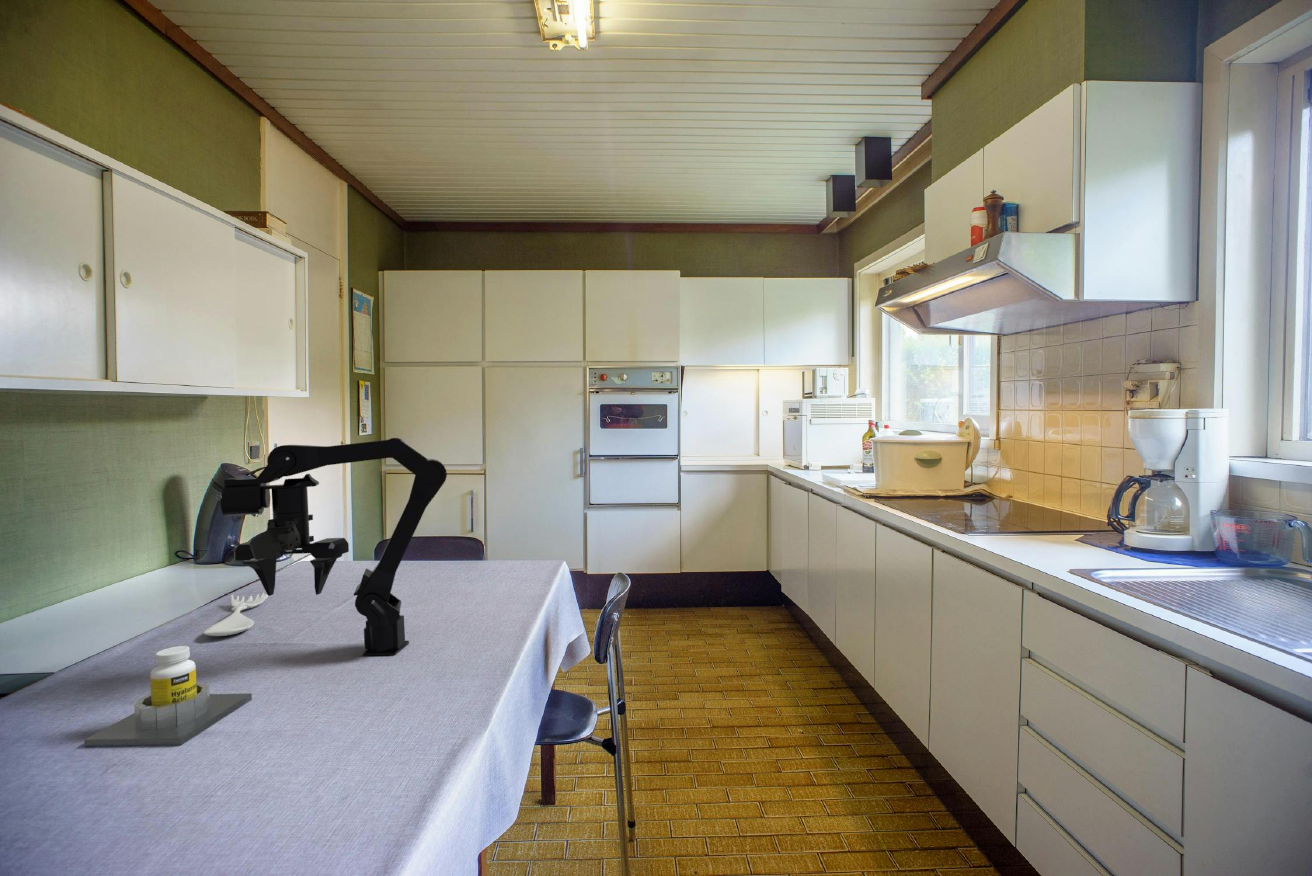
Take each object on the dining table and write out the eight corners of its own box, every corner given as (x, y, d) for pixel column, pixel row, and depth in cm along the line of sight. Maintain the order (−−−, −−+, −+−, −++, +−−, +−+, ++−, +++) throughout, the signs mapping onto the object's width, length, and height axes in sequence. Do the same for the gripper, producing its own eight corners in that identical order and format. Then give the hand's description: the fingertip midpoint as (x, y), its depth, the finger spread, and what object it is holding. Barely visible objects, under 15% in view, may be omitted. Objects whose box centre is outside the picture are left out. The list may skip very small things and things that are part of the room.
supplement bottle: (173, 724, 89) (169, 658, 88) (142, 722, 90) (139, 656, 89) (206, 706, 94) (203, 644, 94) (177, 705, 95) (174, 643, 95)
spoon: (272, 601, 158) (271, 588, 158) (249, 638, 129) (248, 622, 129) (231, 606, 154) (230, 593, 154) (197, 646, 125) (197, 630, 125)
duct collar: (251, 699, 98) (250, 675, 98) (180, 745, 84) (179, 717, 84) (168, 700, 99) (167, 676, 99) (84, 746, 85) (83, 718, 85)
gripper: (208, 520, 105) (213, 608, 105) (313, 517, 104) (317, 606, 105) (253, 510, 116) (257, 591, 116) (348, 508, 115) (352, 589, 116)
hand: (294, 594), depth 113 cm, fingers open, 9 cm apart
